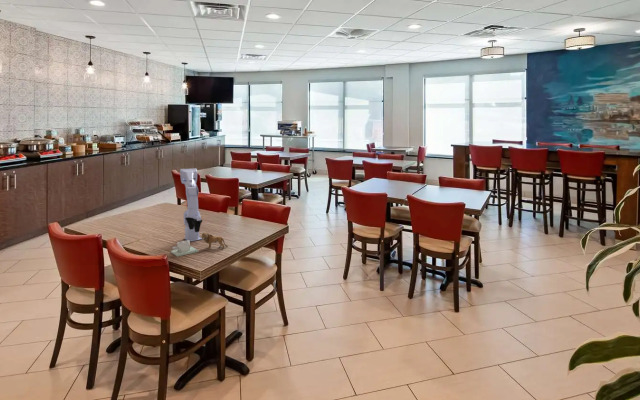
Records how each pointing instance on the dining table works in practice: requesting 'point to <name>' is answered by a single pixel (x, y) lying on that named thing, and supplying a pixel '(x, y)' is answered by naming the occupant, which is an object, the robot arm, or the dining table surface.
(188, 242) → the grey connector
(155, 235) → the dining table surface
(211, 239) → the lion figurine
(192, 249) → the pale green rectangular panel
